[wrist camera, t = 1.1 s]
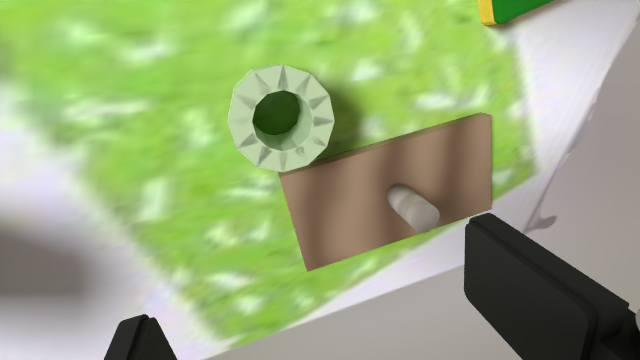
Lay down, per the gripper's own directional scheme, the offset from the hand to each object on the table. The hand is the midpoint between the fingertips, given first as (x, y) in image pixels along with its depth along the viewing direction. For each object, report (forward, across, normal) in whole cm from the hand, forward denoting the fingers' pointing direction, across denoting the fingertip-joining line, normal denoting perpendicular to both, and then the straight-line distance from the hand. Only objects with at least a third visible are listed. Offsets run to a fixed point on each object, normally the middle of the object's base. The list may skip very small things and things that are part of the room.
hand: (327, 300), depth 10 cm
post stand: (+19, -10, +8) cm, 23 cm away
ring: (+20, -1, -2) cm, 20 cm away
